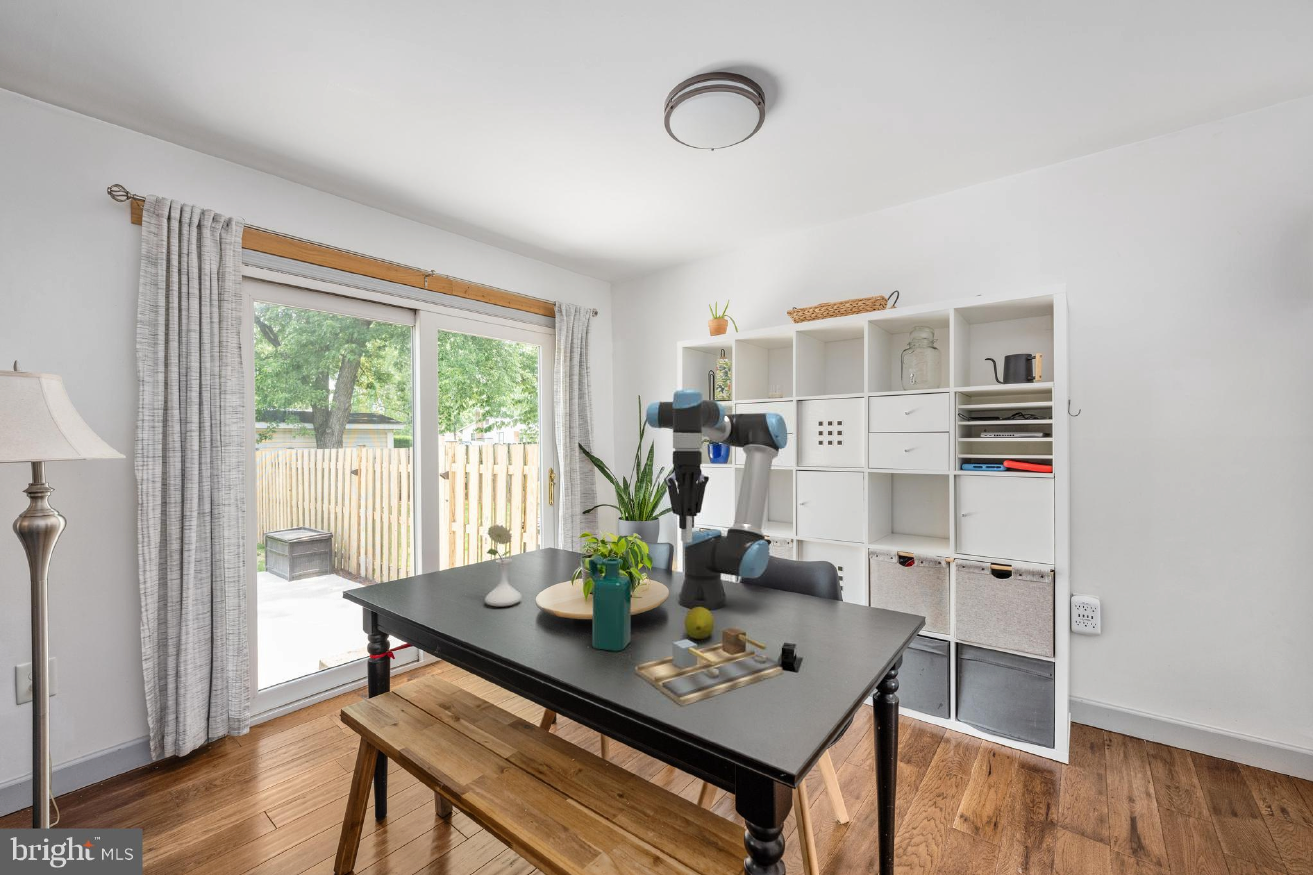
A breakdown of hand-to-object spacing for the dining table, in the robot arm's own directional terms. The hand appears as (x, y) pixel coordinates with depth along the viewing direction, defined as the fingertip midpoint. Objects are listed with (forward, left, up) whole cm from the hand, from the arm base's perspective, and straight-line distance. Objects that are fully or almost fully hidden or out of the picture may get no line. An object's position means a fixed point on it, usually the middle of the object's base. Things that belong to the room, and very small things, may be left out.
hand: (686, 541), depth 140 cm
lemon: (-5, -1, -27) cm, 27 cm away
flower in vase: (+30, -58, -27) cm, 71 cm away
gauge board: (+6, +17, -26) cm, 32 cm away
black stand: (-14, +23, -27) cm, 38 cm away
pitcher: (+17, -10, -27) cm, 33 cm away
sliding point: (+10, +17, -25) cm, 32 cm away
